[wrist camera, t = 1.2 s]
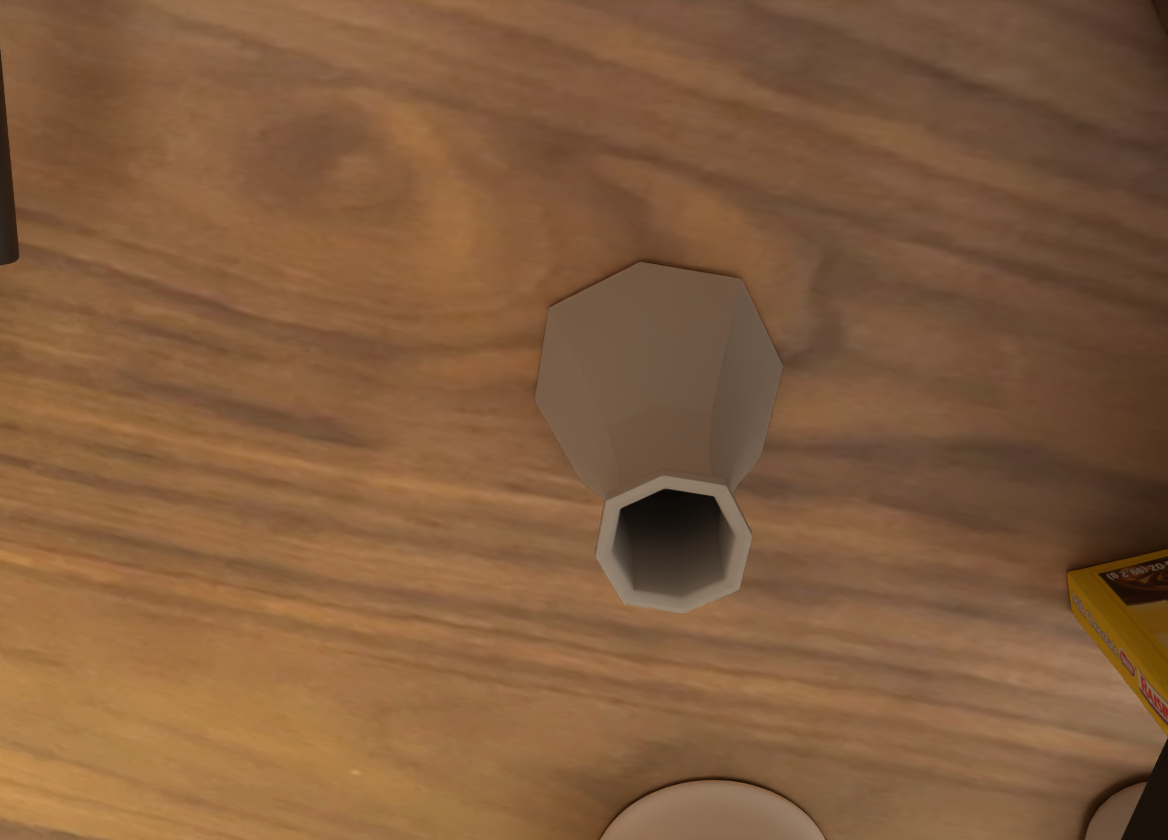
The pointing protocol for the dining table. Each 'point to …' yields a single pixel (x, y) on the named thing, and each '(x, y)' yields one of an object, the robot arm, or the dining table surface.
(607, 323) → the flask
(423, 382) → the dining table surface
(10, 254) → the drawer
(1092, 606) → the candy box
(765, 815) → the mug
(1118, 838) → the beverage can
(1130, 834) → the robot arm
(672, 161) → the dining table surface
